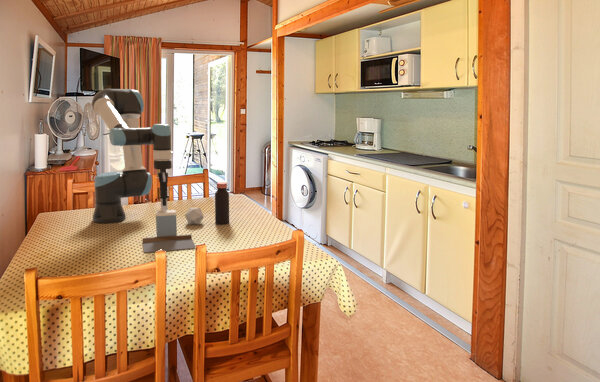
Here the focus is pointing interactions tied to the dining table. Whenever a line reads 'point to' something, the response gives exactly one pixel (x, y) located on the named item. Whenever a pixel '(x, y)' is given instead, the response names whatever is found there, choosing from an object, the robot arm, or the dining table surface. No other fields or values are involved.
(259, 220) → the dining table surface
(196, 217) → the grey faceted rock
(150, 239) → the rail
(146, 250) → the mat
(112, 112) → the robot arm
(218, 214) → the bottle
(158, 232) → the tall block
